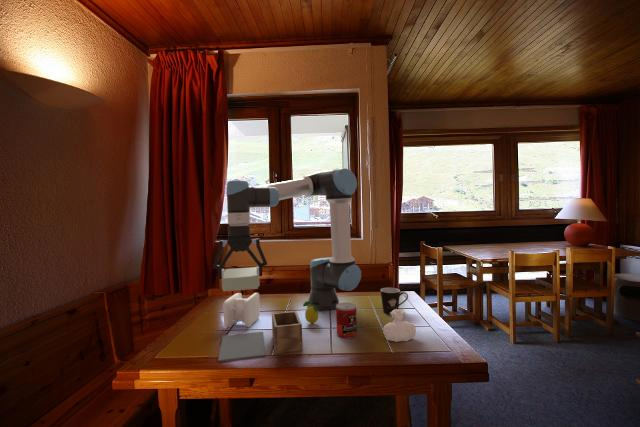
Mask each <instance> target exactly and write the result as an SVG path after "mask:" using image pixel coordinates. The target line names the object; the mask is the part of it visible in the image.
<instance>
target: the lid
mask: <svg viewBox="0 0 640 427" xmlns="http://www.w3.org/2000/svg"><path fill="white" fill-rule="evenodd" d="M258 289H259V286H258V275H257V266H253V267H252V266H251V267H240V268H239V267H238V268H226V269H224V276H223V289H222V292H233V291H244V290H258Z"/></svg>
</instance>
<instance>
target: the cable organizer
mask: <svg viewBox="0 0 640 427" xmlns="http://www.w3.org/2000/svg"><path fill="white" fill-rule="evenodd" d="M242 294H243V293H241V292H237V293H234V294H233V295H231V296H229V297H228V298H227V299H225V301H224V302H223V303H222V308H223V326H224V327H225V328H231V327H232V326H233V325H234V324H235V325H237V322H238V321H239V322H242V325H244V327H246V328H251V327H252V325H253V324H254V323H255V322H257V320H258V319H260V316H261V310H260V308H261V306H260V293H259V292H253V293H252V294H251V295H250V296H249V297H247V298H243V296H242Z"/></svg>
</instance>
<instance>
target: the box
mask: <svg viewBox="0 0 640 427" xmlns="http://www.w3.org/2000/svg"><path fill="white" fill-rule="evenodd" d="M271 322H272V323H271V325H272V327H271V328H272V330H271V332H272V341H273V347H274V353H275V354H284V353H290V352H291V353H292V352H300V351H303V347H304V346H303V324H302V322H301V319H300V317H299V315H298V313H297V311H296V310H295V311H293V310H292V311H285V312H283V311H282V312H275V313H274V312H273V313H271Z"/></svg>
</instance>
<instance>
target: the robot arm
mask: <svg viewBox="0 0 640 427" xmlns="http://www.w3.org/2000/svg"><path fill="white" fill-rule="evenodd" d="M357 188H358V181H357V178H356V176H355V173H354V172H352V170H351V169H349V168H343V167H342V168H334V169H333V168H332V169H328V170H321V171H317V172H314V173H311V174H307V175H302V176H301V178H298V179H297V178H296V179H293V180H292V179H291V180H286V181H281V182H280V181H279V182H275V183H274V182H273V183H269V184H262V185H256V186H250V184H249V181H248V180H239V179H237V180H235V179H234V180H229V181H228V182H227V184H226V193H225V194H226V202H227V225H228V226H227V234H228V235H227V238H228V239H227V240H223V239H221V240H219V242H218V250H217V253H216V254H215V259H214V262H213V264H212V269H215V270H218V271H217V272H218V273H217V274H218V277H217V278H218V280H221V289H222V290H223V276H224V273H225V268H224V266H225V265H226V263H227V262H228V260H229V258H230V257H231V255H232V254H233V252H235V253H238V252H247V253H248V254H249V256H250V257H251V258H252V259H253V261H254V262H255V264H256V265H257V266H256V268H257V275H258V287H260V277H263V267H265V266H267V265H268V262H267V259H266V257H265V255H264V252H263V250H262V247H261V245H260V243H261V242H260V238H259V237H258V238H251V226H250V225H249V224H250V223H251V213H250V211H251V210H250V208H270V207H271V208H273V207H276V206H277V205H278V204H279V202H280V201H282V200H287V199H293V198H297V197H302V196H304V197H312V196H322V197H323V196H325V200H326V201H327V203H329V215H330V218H329V219H330V235H331V236H330V237H331V257H330V256H329V257H320V258H314V259H311V261H310V263H309V264H310V265H309V266H310V267H309V270H310V271H309V272H310V293H309V295H308V300H307V301H308V302H311V300H312V306H313V305H314V306H315V307H316V308H317V310H318V311H331V310H334V309H335V310H336V305H337V304H339V303H340V301H339V300H340V299H339V297H338V294H337V290H340V291H347V292H348V291H353V290H354V289H356V288H357V287H358V285H359V283H360V281H361V278H362V270H361V269H360V268H361V267H359V265H356V259H355V258H354V257H353V255H352V239H351V223H350V222H351V220H350V202H351V201H352V199H353V194H354V193H355V192H356V190H357ZM252 243H253V245H254V246H256V248H257V252H258V254H259V256H260V258H261V261H262V262H261V261H260V260H259V258H258V257H257V255H255V253H254V251H253V250H252V249H251V248H250V245H251V244H252ZM226 245H228V246H229V247H230V248H229V250H228V251H227V253H226V255H225V256H224V258H223V259H222V260H221V263H220V264H218V263H219V260H220V258H221V255H222V251H223V249H224V248H225V247H226ZM336 289H337V290H336ZM310 306H311V303H310V305H308V306H307V308H308V307H310Z"/></svg>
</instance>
